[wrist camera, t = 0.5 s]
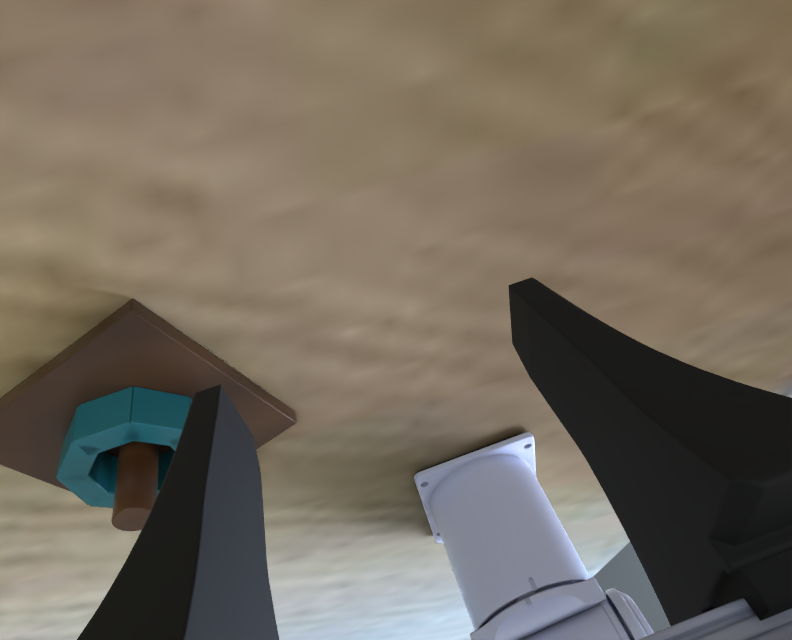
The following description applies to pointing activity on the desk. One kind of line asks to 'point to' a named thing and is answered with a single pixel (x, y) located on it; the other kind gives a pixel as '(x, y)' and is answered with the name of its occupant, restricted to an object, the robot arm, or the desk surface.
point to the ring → (117, 438)
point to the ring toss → (111, 372)
